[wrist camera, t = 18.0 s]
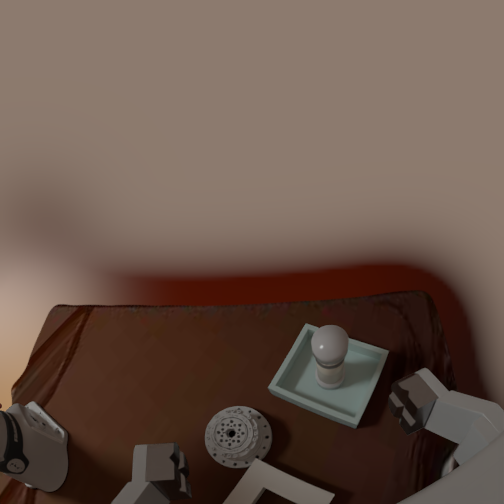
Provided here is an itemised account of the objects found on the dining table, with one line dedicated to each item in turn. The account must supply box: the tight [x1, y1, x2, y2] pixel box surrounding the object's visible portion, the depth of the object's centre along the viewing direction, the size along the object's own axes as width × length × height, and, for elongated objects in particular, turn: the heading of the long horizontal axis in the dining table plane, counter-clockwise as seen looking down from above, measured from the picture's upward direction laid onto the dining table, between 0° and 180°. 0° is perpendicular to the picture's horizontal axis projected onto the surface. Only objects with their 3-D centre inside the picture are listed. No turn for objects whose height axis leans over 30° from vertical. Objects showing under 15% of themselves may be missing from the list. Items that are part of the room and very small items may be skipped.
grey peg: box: [311, 325, 349, 390], centre depth 37 cm, size 4×4×12 cm
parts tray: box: [268, 324, 389, 429], centre depth 41 cm, size 14×12×3 cm
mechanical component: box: [205, 406, 272, 468], centre depth 37 cm, size 10×4×10 cm
